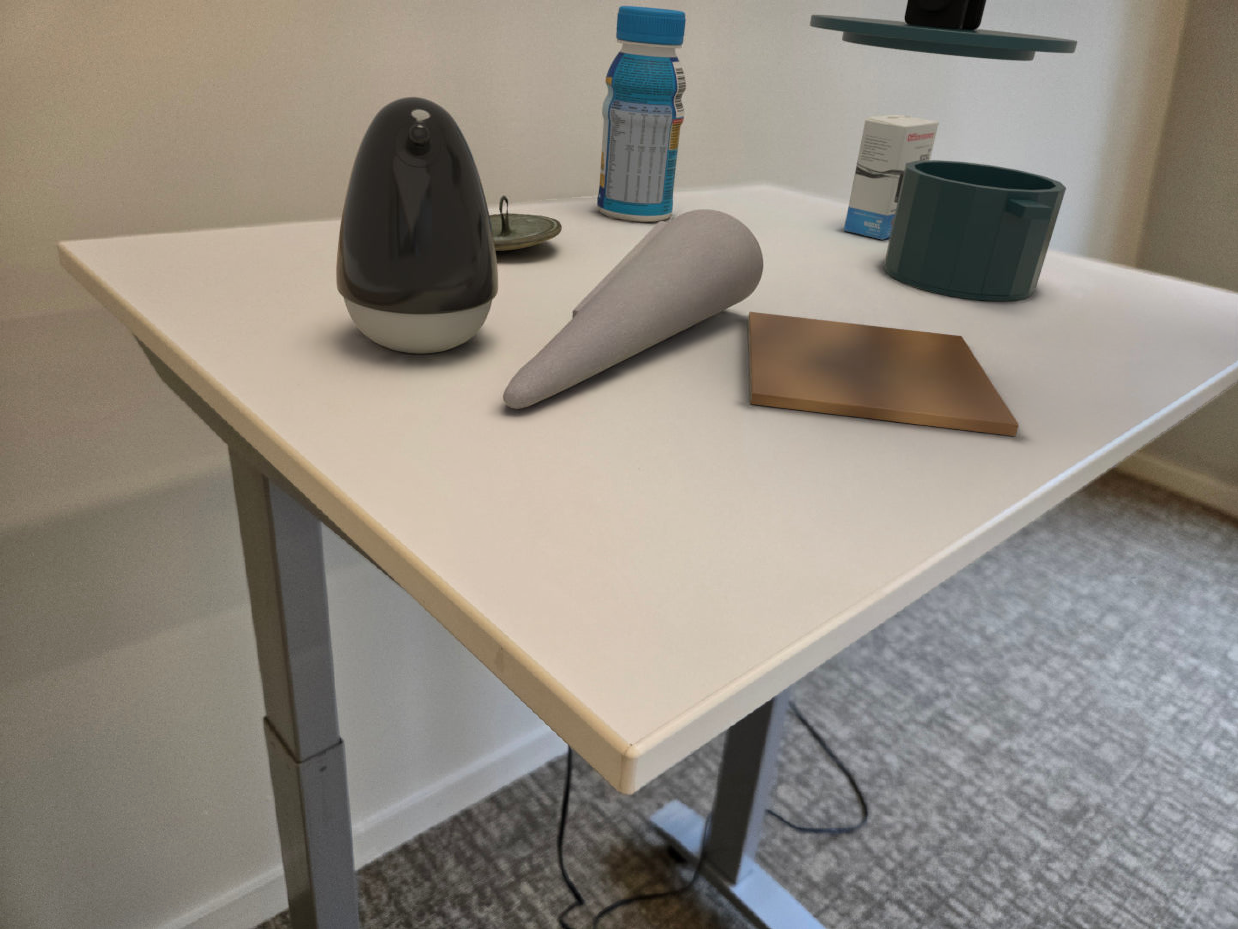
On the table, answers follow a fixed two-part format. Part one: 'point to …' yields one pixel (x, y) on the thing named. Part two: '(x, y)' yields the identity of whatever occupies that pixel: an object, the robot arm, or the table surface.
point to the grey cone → (647, 300)
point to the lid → (521, 229)
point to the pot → (972, 229)
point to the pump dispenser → (416, 233)
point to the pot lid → (942, 38)
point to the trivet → (872, 374)
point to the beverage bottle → (642, 116)
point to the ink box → (885, 170)
